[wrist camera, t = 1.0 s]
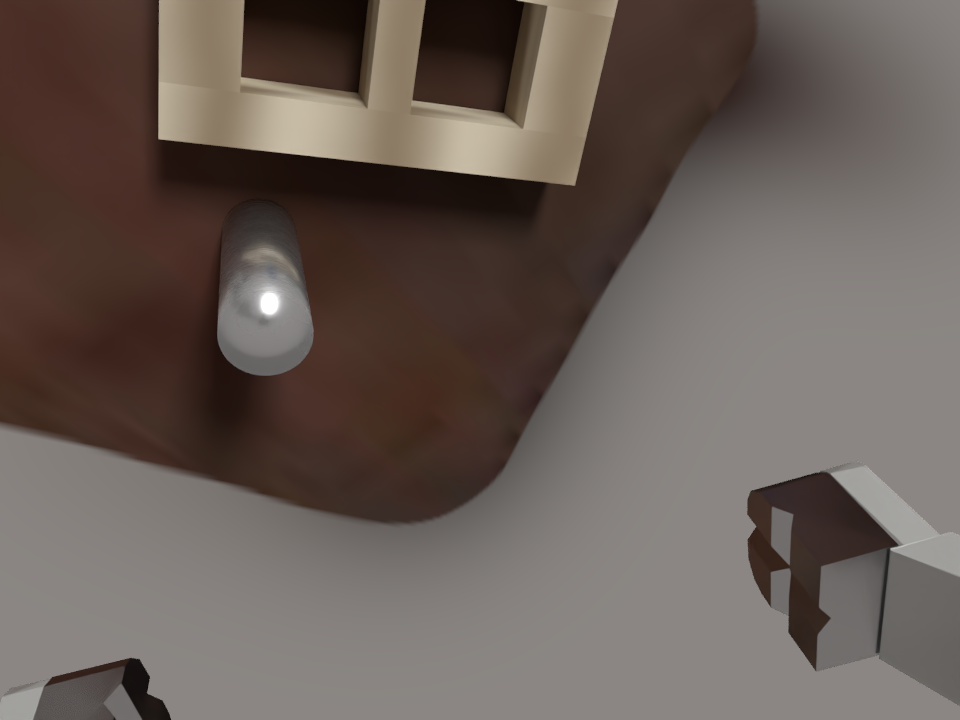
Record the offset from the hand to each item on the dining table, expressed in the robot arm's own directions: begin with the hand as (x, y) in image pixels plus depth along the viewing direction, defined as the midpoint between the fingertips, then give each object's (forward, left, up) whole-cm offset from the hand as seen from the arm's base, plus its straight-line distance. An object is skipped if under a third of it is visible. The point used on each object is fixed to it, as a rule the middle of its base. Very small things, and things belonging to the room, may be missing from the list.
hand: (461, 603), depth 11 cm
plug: (-2, -5, -29) cm, 29 cm away
